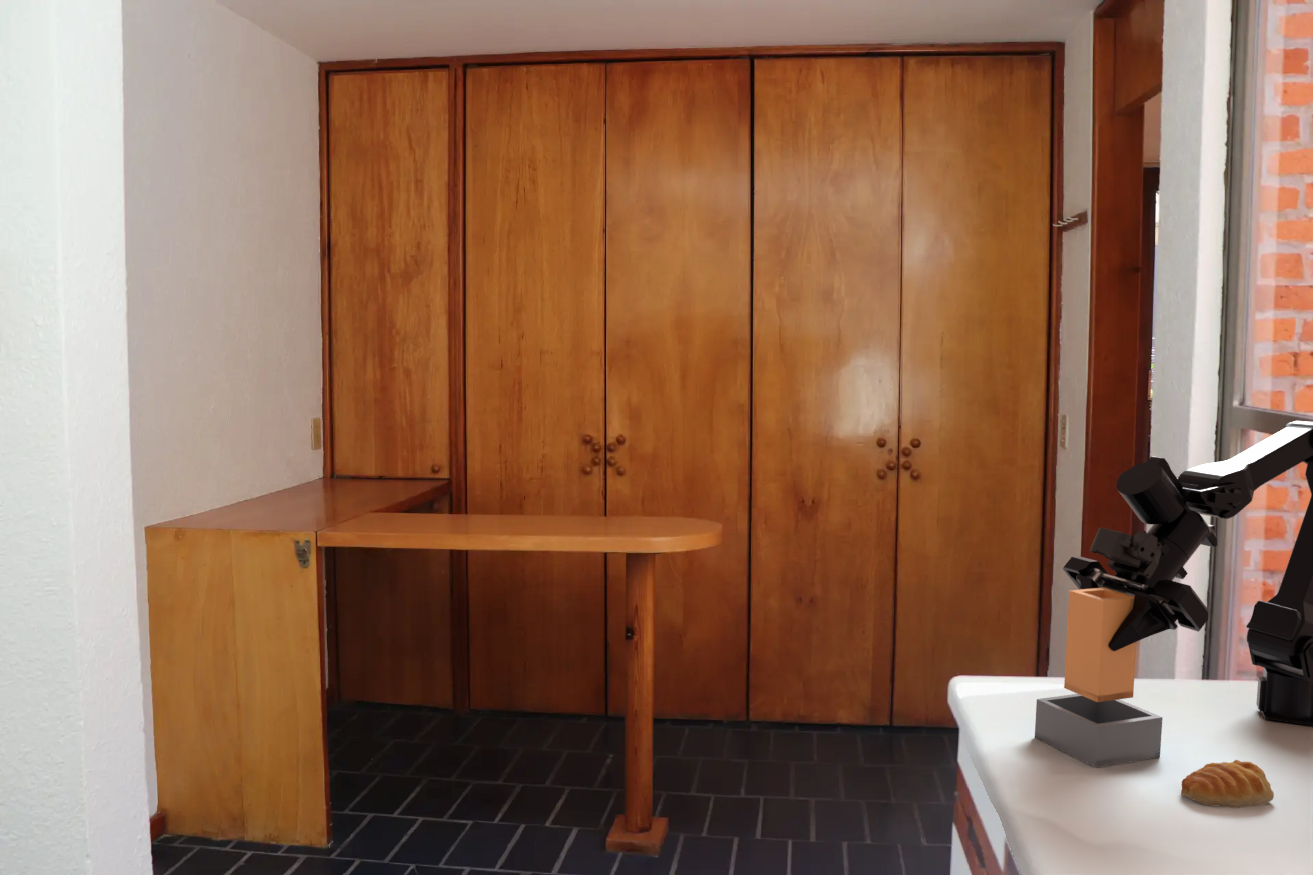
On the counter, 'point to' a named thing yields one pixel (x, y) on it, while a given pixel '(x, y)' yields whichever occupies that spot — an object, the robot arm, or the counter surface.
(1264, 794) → the pastry
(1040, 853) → the counter surface
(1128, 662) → the orange hollow square block
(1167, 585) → the robot arm
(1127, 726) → the grey crate
